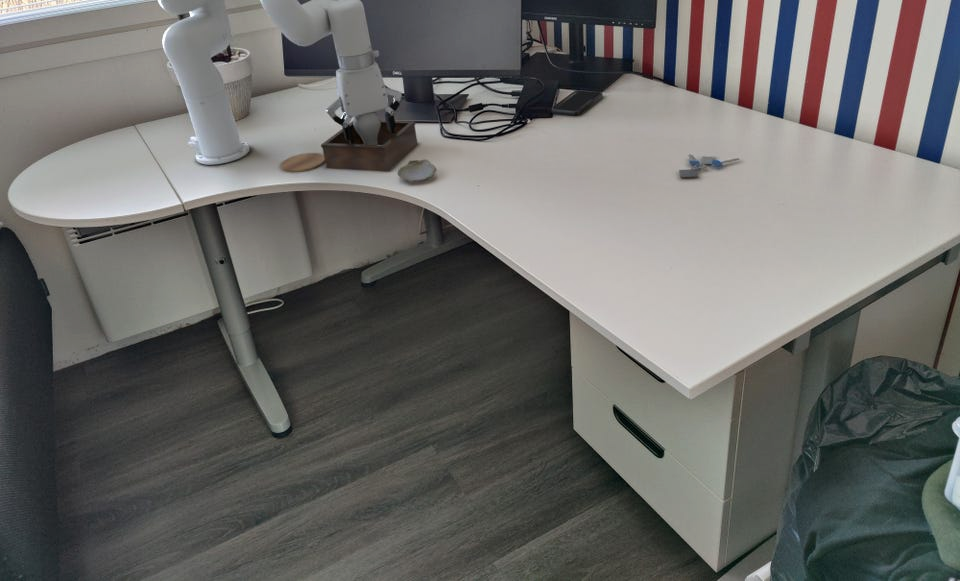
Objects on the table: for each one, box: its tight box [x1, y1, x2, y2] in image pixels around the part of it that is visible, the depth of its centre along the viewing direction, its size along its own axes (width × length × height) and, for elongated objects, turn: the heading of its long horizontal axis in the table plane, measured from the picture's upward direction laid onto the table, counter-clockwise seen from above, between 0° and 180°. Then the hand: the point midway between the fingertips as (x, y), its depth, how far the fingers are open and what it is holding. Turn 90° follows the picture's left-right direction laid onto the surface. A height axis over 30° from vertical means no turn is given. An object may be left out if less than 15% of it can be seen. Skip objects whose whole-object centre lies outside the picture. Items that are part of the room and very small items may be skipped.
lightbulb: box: [352, 111, 381, 145], centre depth 167 cm, size 6×6×11 cm
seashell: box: [397, 159, 437, 183], centre depth 156 cm, size 8×3×8 cm
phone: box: [551, 89, 603, 117], centre depth 185 cm, size 8×1×15 cm
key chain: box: [678, 154, 740, 178], centre depth 147 cm, size 14×8×1 cm, turn 121°
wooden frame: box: [320, 119, 418, 172], centre depth 168 cm, size 16×16×6 cm
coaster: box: [280, 152, 326, 173], centre depth 170 cm, size 10×10×1 cm
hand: (371, 136), depth 167 cm, fingers open, 9 cm apart
